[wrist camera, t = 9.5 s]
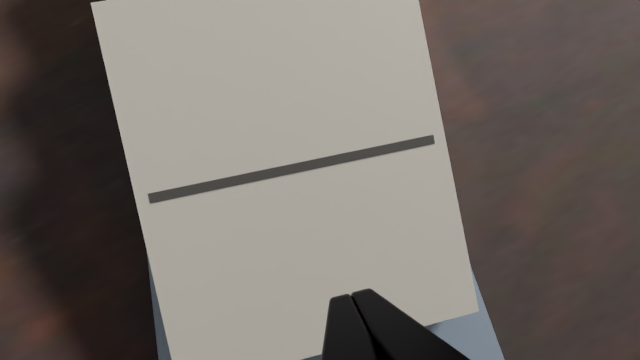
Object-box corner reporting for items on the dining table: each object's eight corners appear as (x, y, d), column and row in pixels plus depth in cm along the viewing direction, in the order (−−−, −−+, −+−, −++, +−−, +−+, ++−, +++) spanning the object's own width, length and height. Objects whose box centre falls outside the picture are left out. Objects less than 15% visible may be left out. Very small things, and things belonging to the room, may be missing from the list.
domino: (479, 311, 14) (409, -45, 14) (178, 392, 13) (89, 2, 12) (454, 295, 16) (392, -19, 15) (189, 365, 15) (112, 24, 14)
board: (511, 405, 15) (522, 409, 15) (182, 505, 14) (175, 515, 13) (339, -80, 23) (340, -94, 23) (118, -51, 22) (112, -65, 21)
